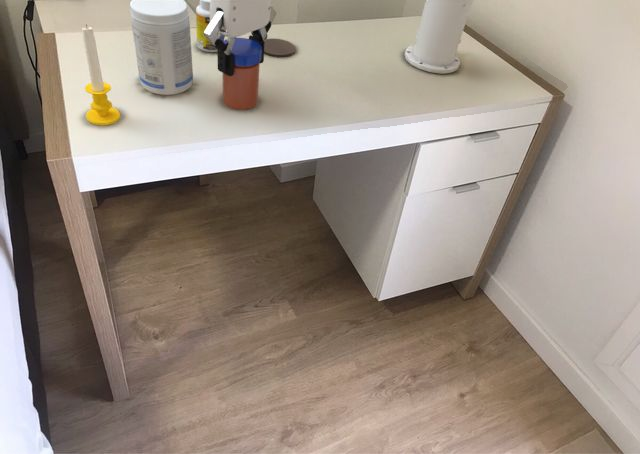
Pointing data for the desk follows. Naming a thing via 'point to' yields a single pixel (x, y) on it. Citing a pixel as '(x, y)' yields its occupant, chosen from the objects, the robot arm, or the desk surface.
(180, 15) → the supplement tub
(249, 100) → the jar
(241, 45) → the jar lid
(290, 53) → the coaster
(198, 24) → the supplement bottle
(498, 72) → the desk surface
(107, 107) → the candle
